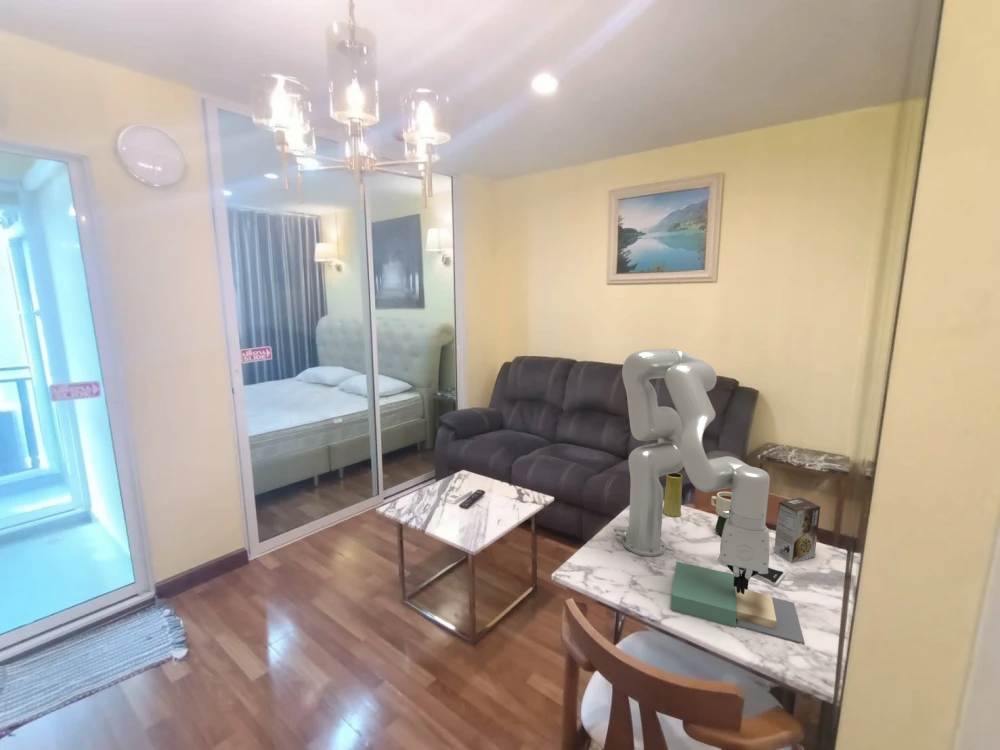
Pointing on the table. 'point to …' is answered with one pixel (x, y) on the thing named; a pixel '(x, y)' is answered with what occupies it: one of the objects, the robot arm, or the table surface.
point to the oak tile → (755, 608)
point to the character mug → (721, 509)
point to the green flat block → (704, 593)
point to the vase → (673, 495)
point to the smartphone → (769, 576)
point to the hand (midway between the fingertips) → (740, 590)
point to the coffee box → (796, 529)
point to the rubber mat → (780, 622)
